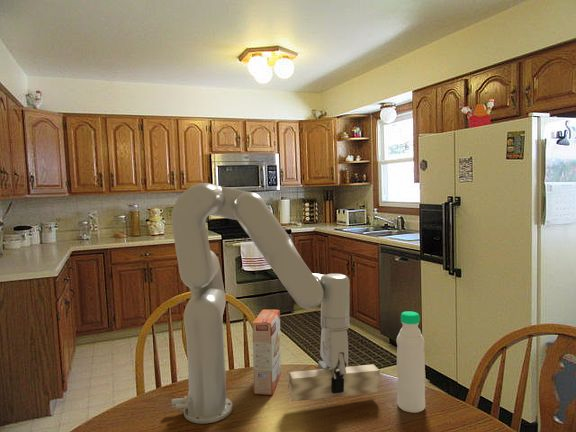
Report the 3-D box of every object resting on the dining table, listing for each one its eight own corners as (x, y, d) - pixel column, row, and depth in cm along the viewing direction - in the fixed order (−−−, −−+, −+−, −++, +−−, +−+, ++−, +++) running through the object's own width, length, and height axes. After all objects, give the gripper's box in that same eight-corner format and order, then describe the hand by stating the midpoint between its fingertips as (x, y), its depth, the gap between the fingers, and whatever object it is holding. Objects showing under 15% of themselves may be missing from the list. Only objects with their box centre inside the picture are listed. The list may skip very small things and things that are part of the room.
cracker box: (274, 396, 117) (271, 323, 115) (253, 395, 118) (250, 322, 116) (282, 374, 130) (280, 308, 129) (263, 373, 131) (261, 308, 130)
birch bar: (292, 401, 106) (292, 378, 106) (289, 394, 110) (289, 372, 110) (379, 392, 112) (379, 370, 111) (373, 385, 116) (373, 364, 115)
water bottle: (429, 413, 105) (428, 316, 104) (401, 414, 105) (399, 317, 104) (420, 399, 112) (419, 308, 111) (394, 400, 112) (393, 309, 111)
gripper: (312, 313, 117) (312, 376, 118) (331, 332, 101) (331, 405, 102) (338, 311, 119) (337, 373, 120) (360, 330, 103) (359, 402, 104)
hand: (334, 387), depth 111 cm, fingers closed on birch bar, 4 cm apart
